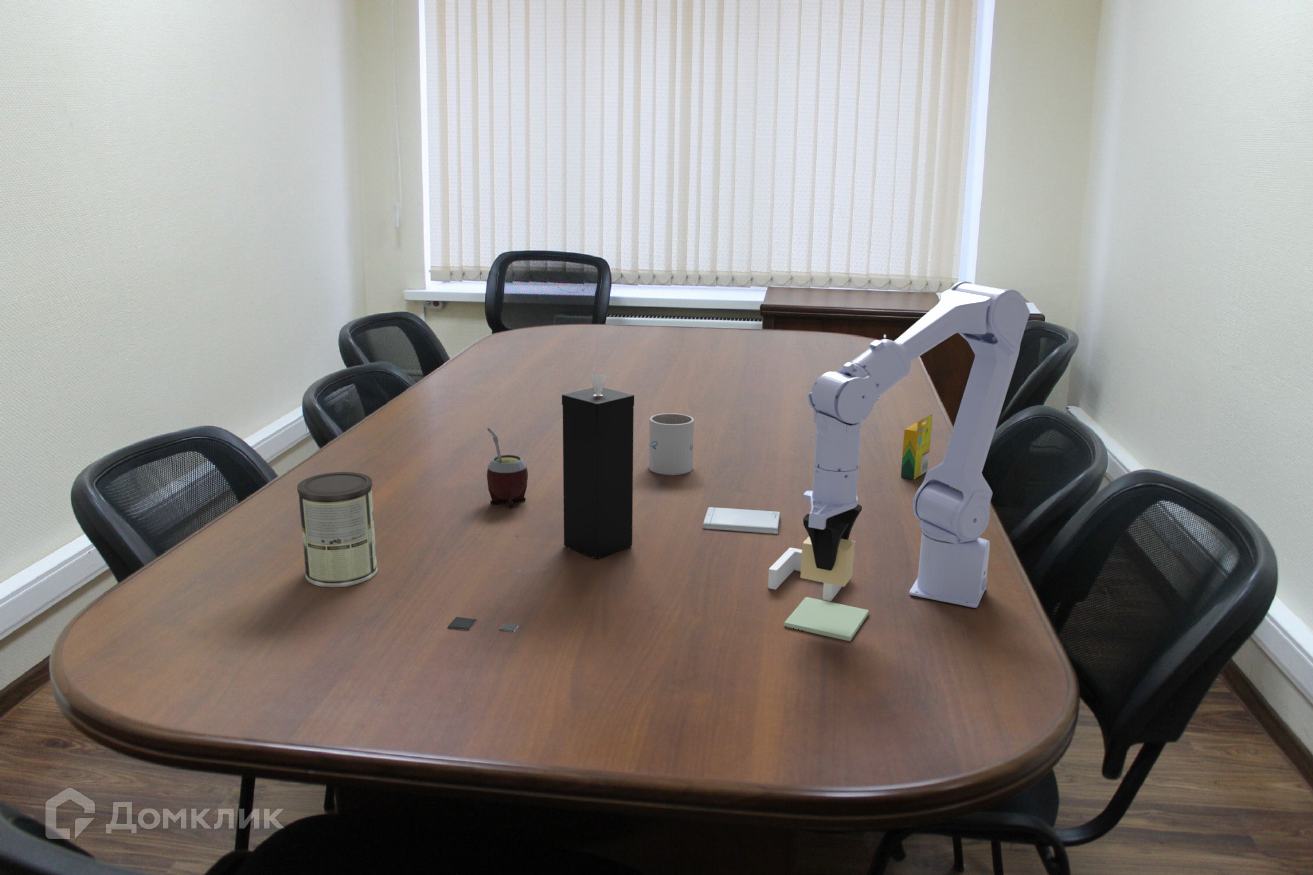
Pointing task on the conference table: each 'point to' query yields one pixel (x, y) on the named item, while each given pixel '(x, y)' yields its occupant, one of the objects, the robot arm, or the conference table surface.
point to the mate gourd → (506, 477)
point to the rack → (786, 567)
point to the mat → (827, 618)
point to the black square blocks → (468, 623)
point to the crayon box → (916, 449)
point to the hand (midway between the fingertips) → (829, 562)
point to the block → (841, 567)
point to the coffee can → (338, 529)
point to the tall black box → (598, 469)
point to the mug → (671, 443)
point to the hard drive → (742, 520)
